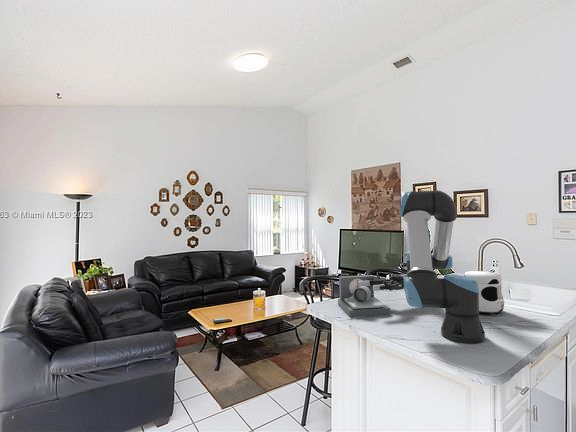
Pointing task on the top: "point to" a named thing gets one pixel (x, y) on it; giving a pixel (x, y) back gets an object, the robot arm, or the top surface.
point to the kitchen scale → (354, 308)
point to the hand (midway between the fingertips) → (365, 286)
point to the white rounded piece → (488, 291)
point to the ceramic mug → (361, 294)
